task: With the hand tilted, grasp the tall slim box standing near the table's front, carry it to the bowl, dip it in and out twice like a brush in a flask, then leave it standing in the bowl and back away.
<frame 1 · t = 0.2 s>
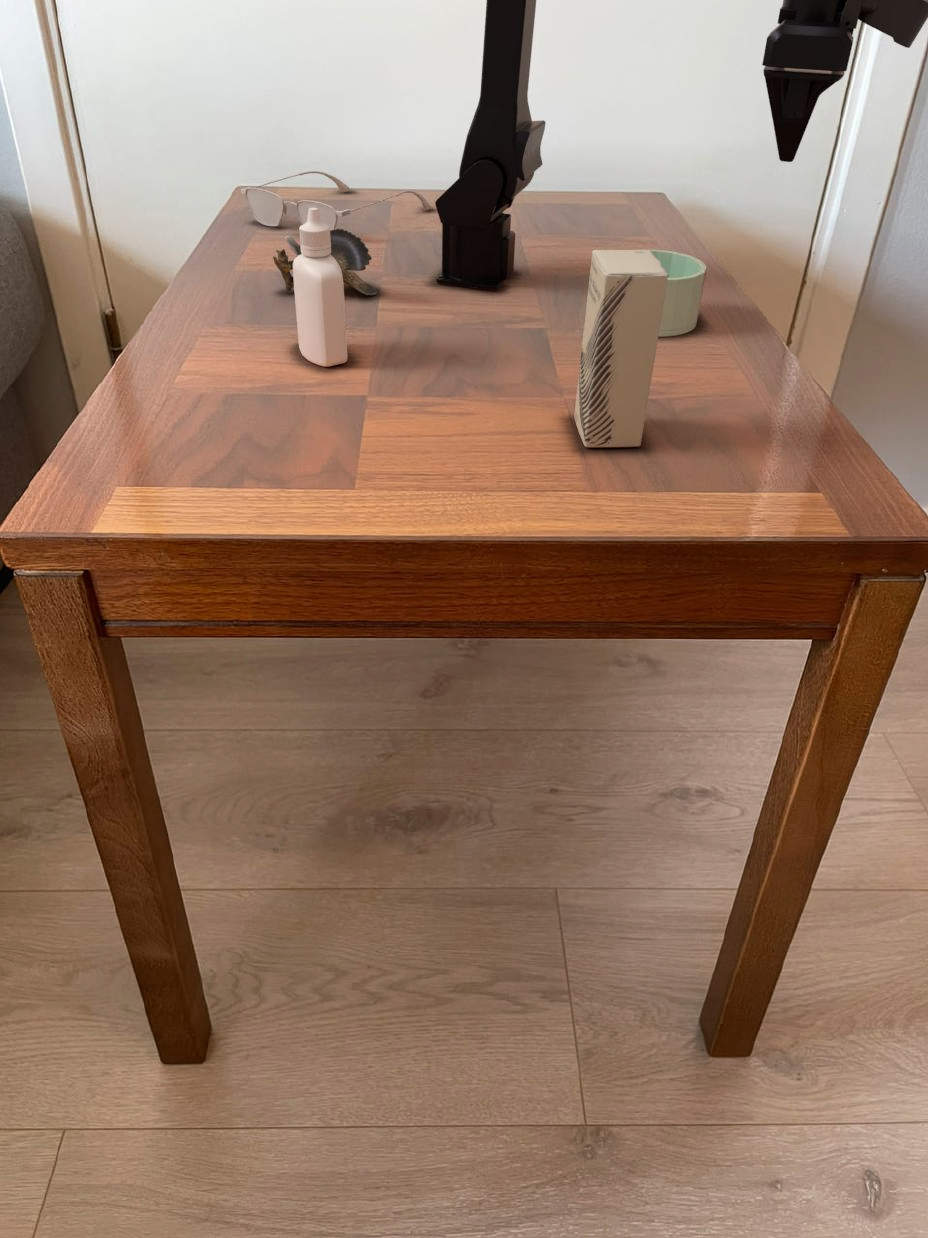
hand: (789, 149, 85), 15 cm above the table, tool pointing down, fingers open, 9 cm apart
brown grey figurine: (327, 296, 96), on the table
eye dropper bottle: (323, 357, 84), on the table
bowl: (650, 319, 92), on the table
eyeglasses: (342, 216, 118), on the table
box: (607, 436, 73), on the table
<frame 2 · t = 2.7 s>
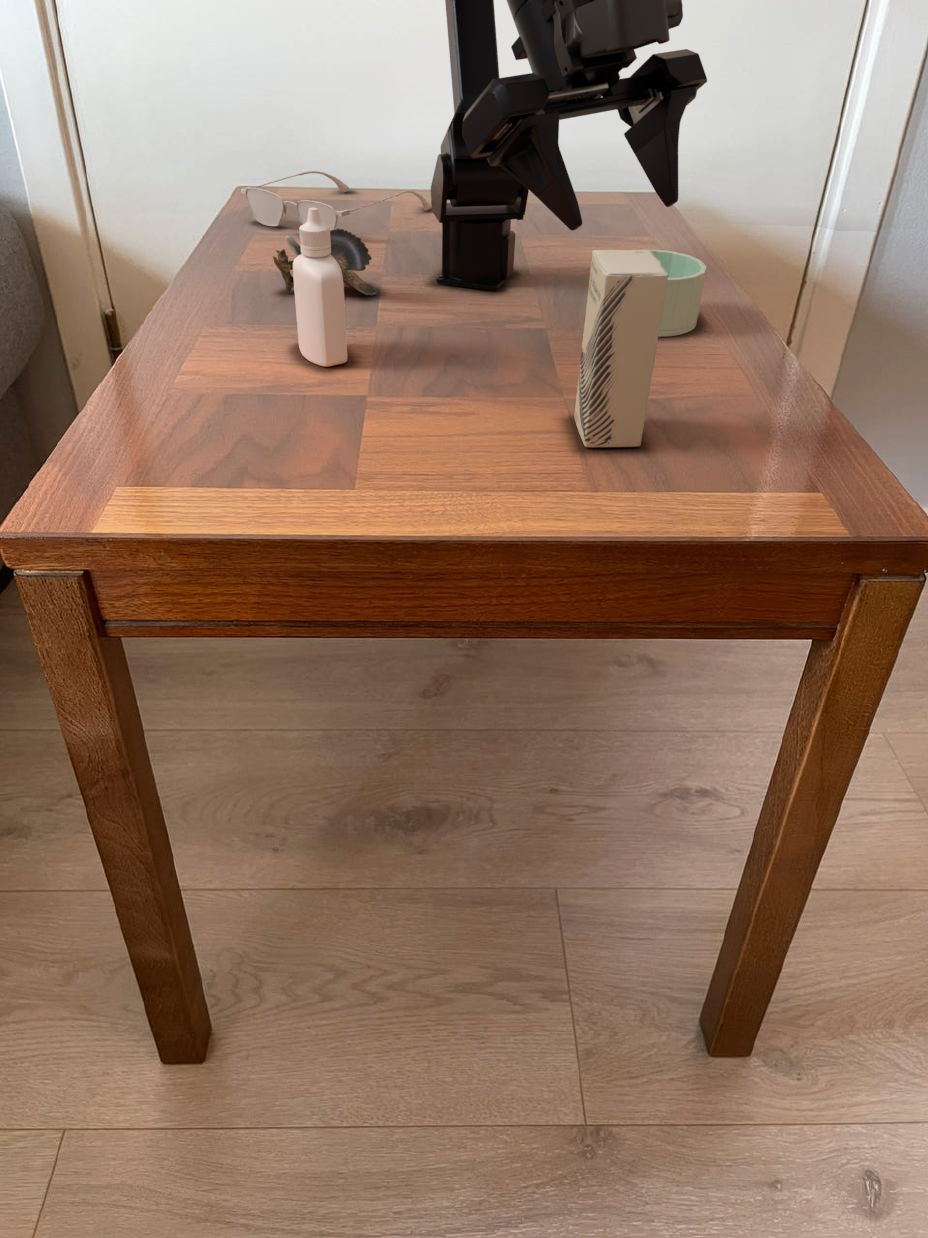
hand: (626, 215, 71), 13 cm above the table, tool tilted 40°, fingers open, 9 cm apart
nothing on the table moved.
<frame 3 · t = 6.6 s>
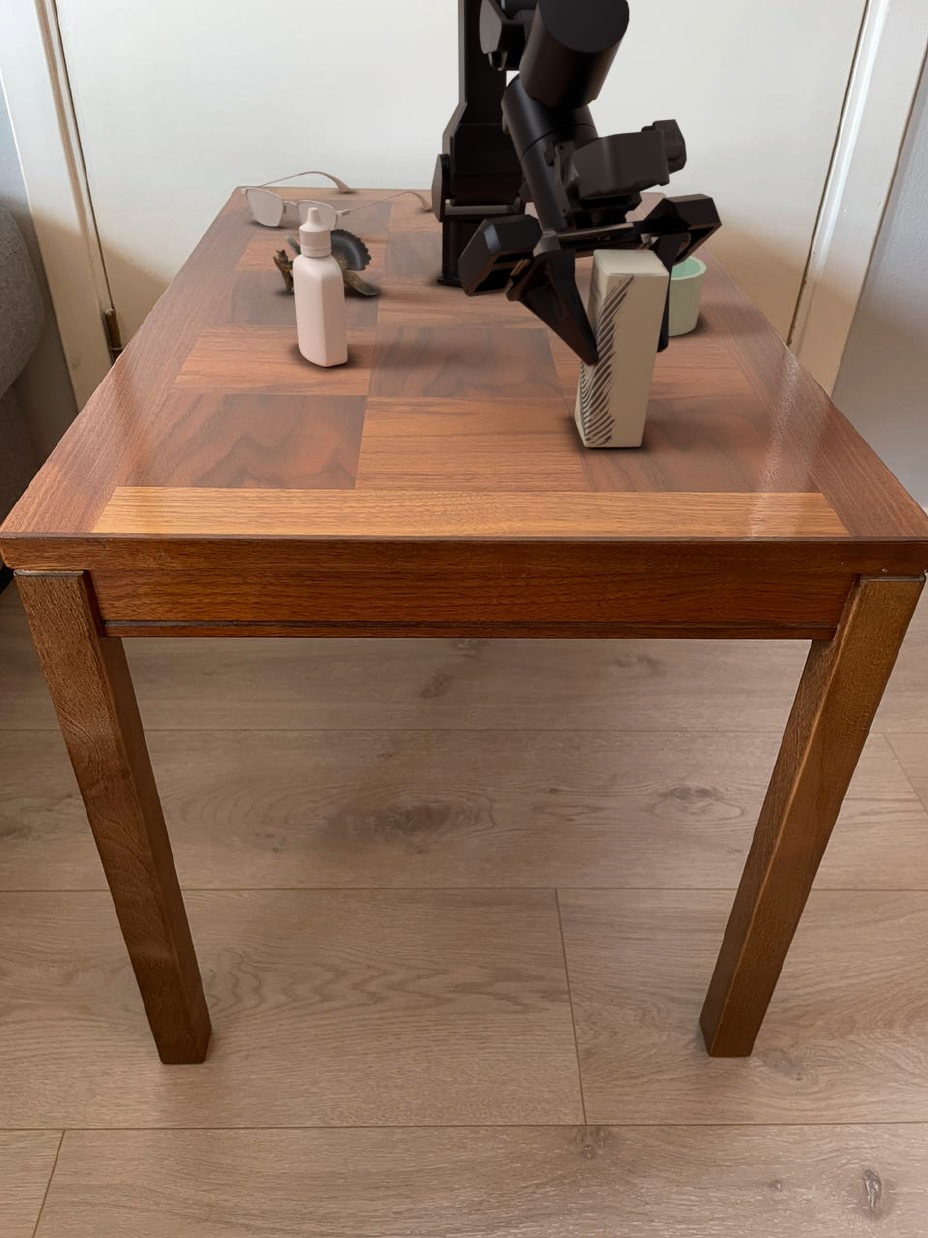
hand: (628, 356, 68), 7 cm above the table, tool tilted 45°, fingers closed on box, 5 cm apart
box: (607, 436, 73), on the table, touching gripper
everything else where it was.
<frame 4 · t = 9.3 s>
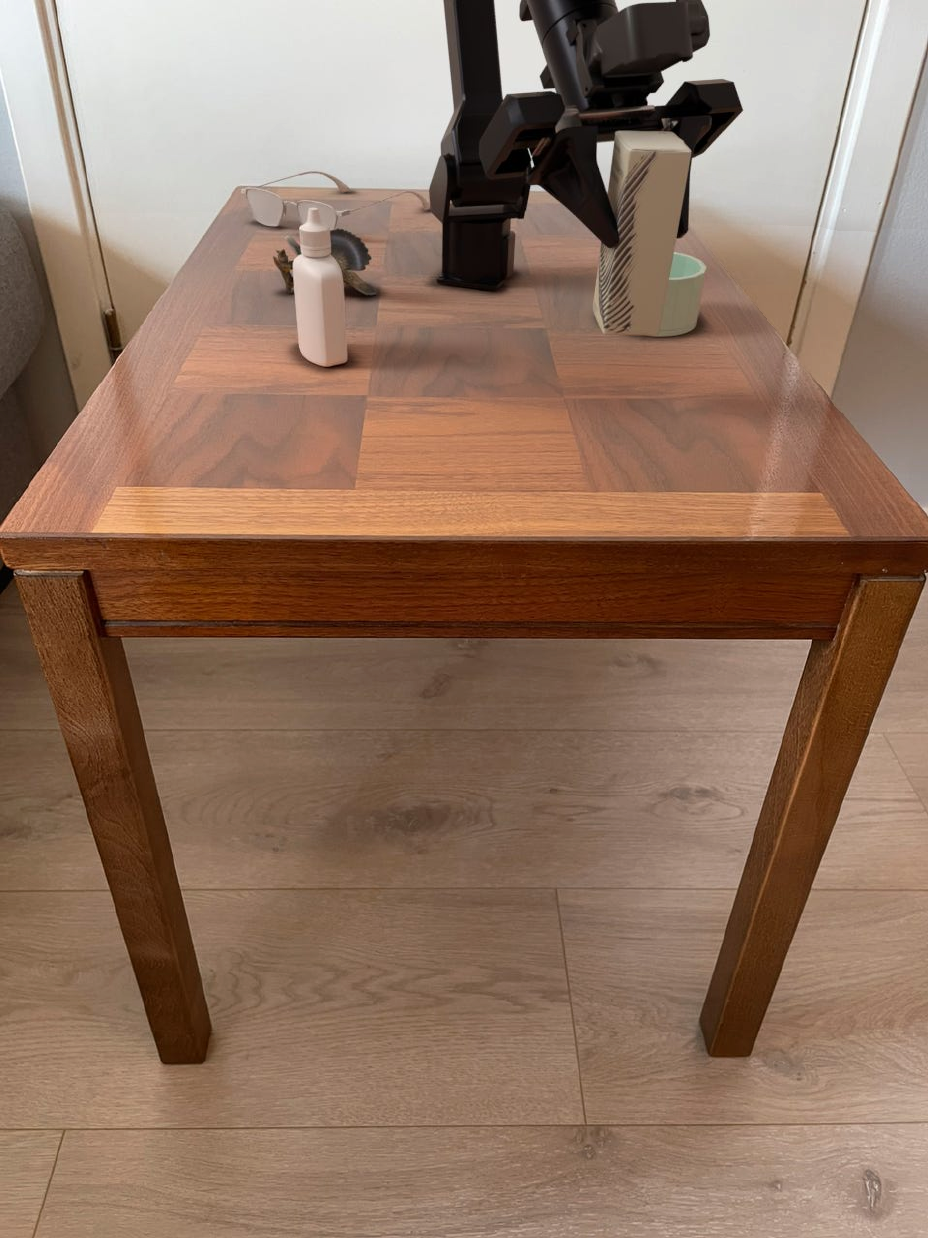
hand: (648, 240, 68), 13 cm above the table, tool tilted 45°, fingers closed on box, 5 cm apart
box: (625, 327, 73), point 6 cm above the table, touching gripper
everything else where it was.
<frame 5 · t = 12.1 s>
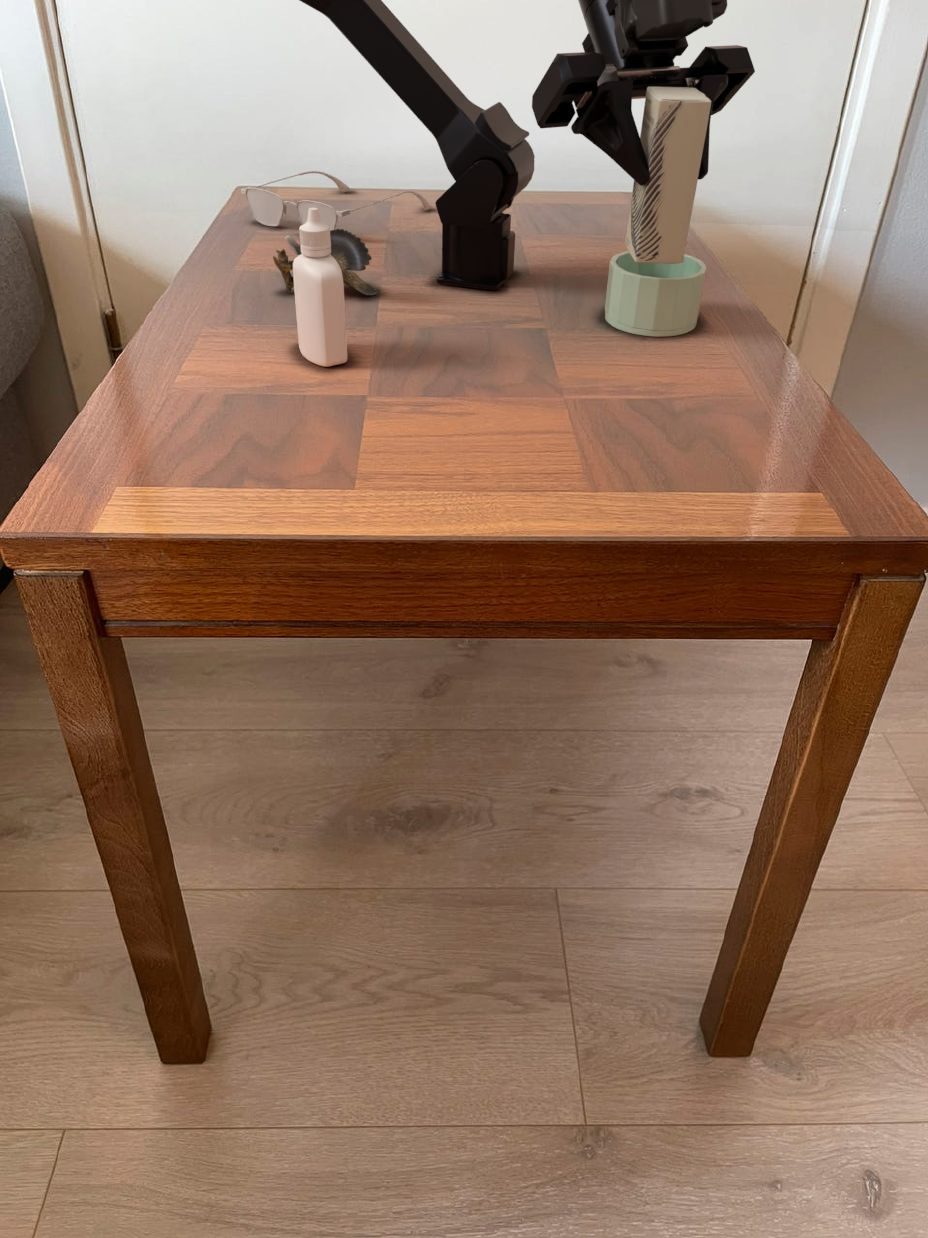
hand: (674, 179, 80), 13 cm above the table, tool tilted 45°, fingers closed on box, 5 cm apart
box: (653, 258, 86), point 7 cm above the table, touching gripper
everything else where it was.
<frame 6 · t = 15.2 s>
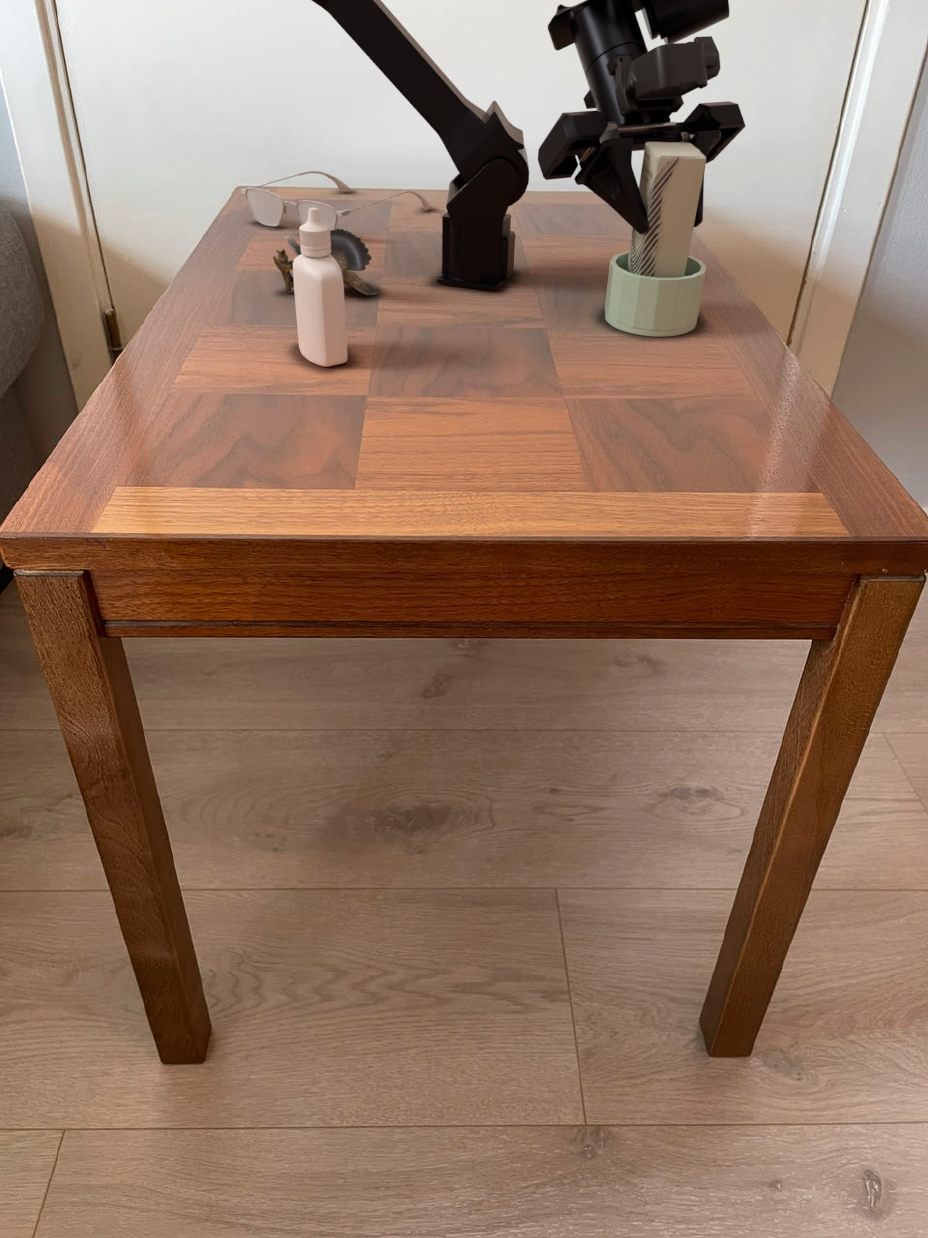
hand: (671, 227, 86), 9 cm above the table, tool tilted 45°, fingers closed on box, 5 cm apart
box: (651, 299, 91), point 2 cm above the table, touching gripper
everything else where it was.
when the fingers open (7 cm above the table, at t = 17.6 s): box stays where it is, resting on bowl.
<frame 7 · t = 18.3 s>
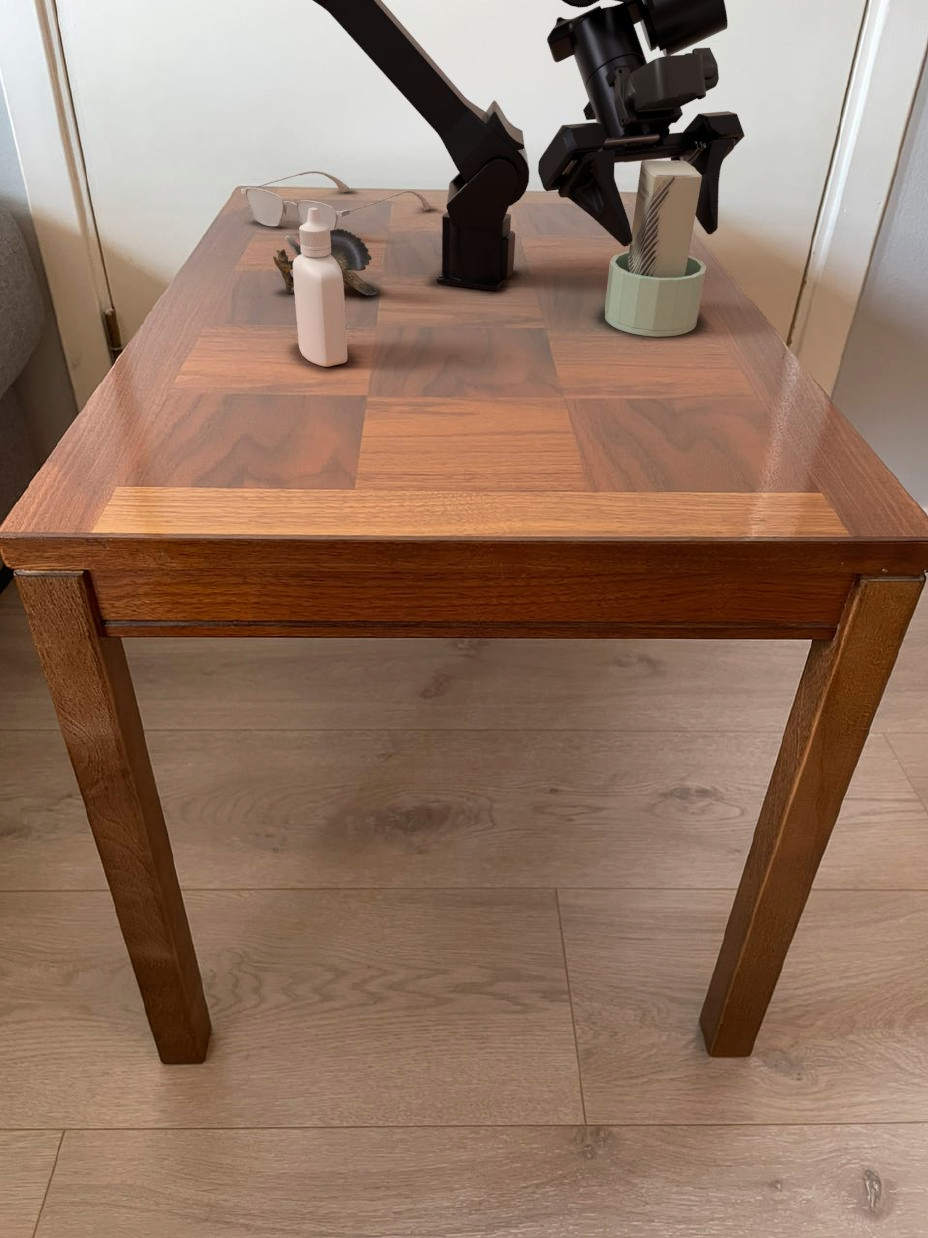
hand: (671, 237, 86), 8 cm above the table, tool tilted 45°, fingers open, 9 cm apart
box: (649, 315, 92), resting on bowl
everything else where it was.
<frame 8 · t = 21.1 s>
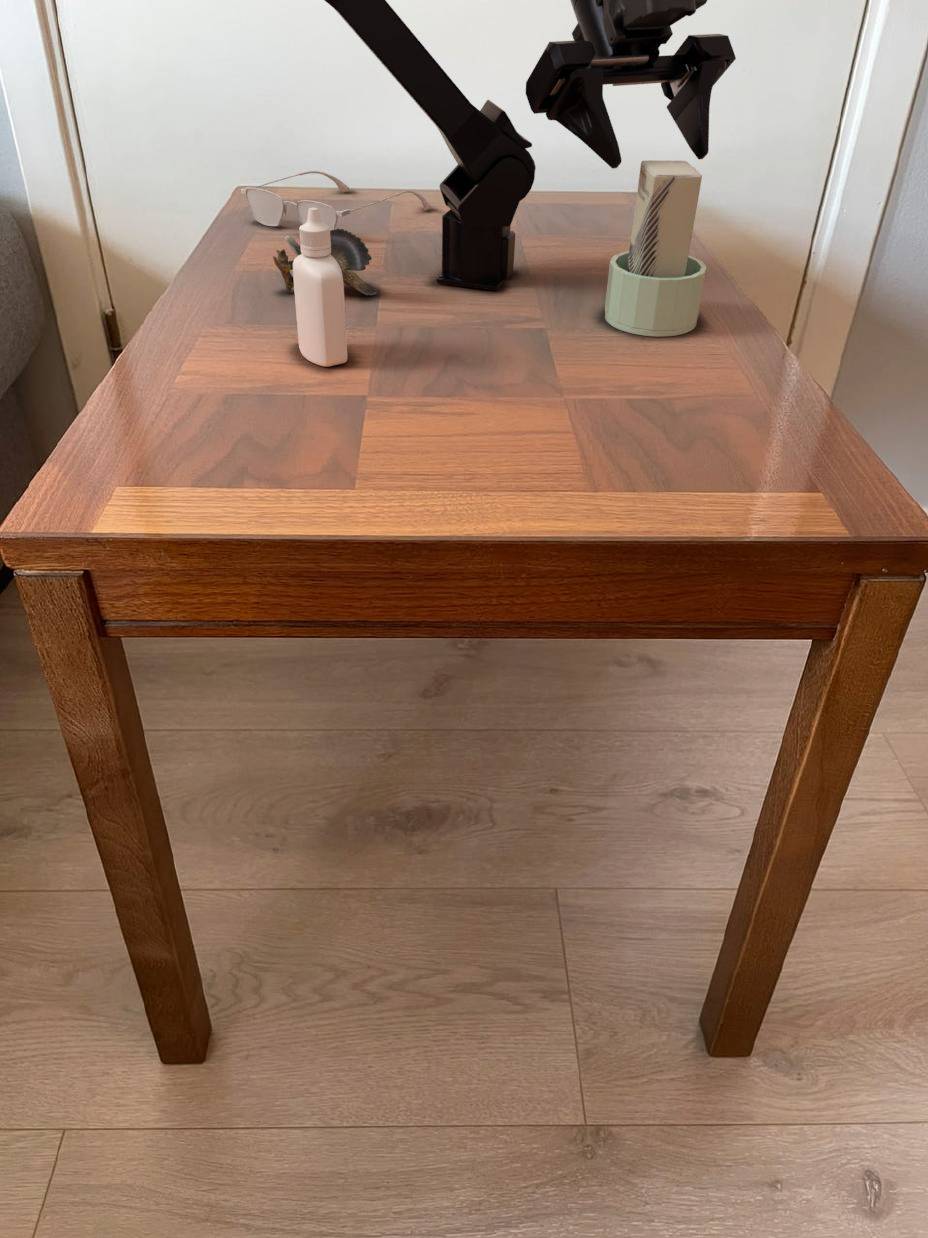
hand: (661, 160, 85), 14 cm above the table, tool tilted 45°, fingers open, 9 cm apart
nothing on the table moved.
at the end: box 0.1 cm off-centre in the bowl, point 0.4 cm above the bowl's base; box tilted 0°; the gripper is holding nothing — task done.
